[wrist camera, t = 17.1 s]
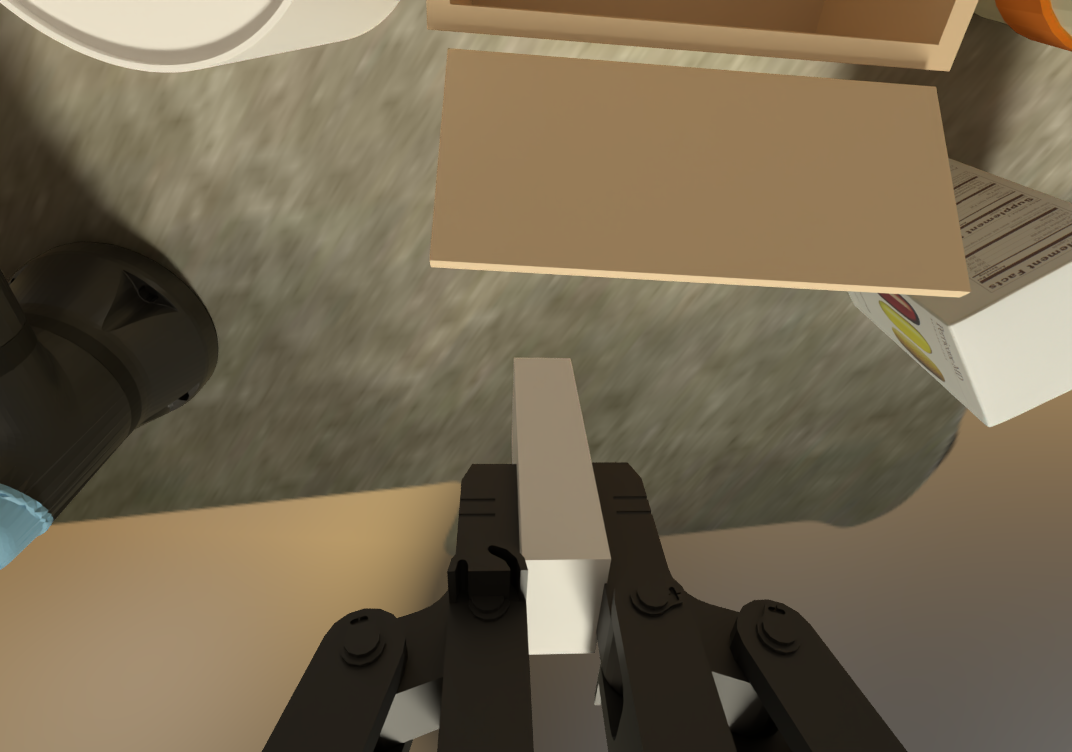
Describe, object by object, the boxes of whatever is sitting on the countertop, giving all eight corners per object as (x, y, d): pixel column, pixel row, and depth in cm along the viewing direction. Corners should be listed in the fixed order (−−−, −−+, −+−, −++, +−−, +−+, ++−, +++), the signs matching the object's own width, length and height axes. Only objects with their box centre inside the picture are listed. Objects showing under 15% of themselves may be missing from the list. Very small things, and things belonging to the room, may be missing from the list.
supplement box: (810, 222, 45) (944, 323, 31) (930, 146, 42) (1139, 218, 28) (855, 309, 49) (990, 433, 35) (966, 246, 46) (1163, 353, 32)
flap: (447, 48, 25) (448, 59, 25) (429, 260, 22) (431, 267, 23) (935, 87, 26) (926, 96, 27) (971, 291, 23) (959, 297, 24)
